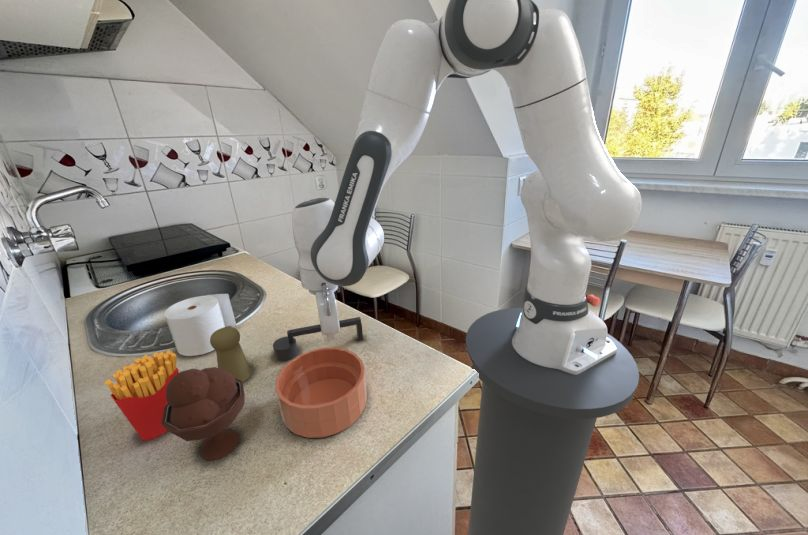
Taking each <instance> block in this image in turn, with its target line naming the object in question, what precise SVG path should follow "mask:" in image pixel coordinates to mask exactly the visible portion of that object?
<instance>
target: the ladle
mask: <svg viewBox="0 0 808 535" xmlns="http://www.w3.org/2000/svg"><path fill="white" fill-rule="evenodd" d="M339 324H340V329H341V328H347V327H352V326H353V327H354V326H356V337H357V340H358V341H363V340H364V333H363V332H364V330H363V323H362V318H361V316H357V317H352V318H346V319H341V320H340V319H339ZM286 332H287V333H286V334H287V336H283V337H282V336H281V337H280V338H277V339H276V340H275V341H274V342H273V343H272V350H273V353H274V359H276V361H280V362H285V361H291V360H293V359H294V358H296V357H297V356H298V354H299V349H298V348H299V347H298V344H297V339H296V338H295V337H300V336H301V337H302V336H306V335H310V334H316V333H322V332H321V326H320V323H318V324H313V325H308V326H303V327H298V328H292V329H288V330H287V331H286Z"/></svg>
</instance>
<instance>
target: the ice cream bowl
mask: <svg viewBox="0 0 808 535" xmlns="http://www.w3.org/2000/svg"><path fill="white" fill-rule="evenodd" d="M244 386H245V385H244V382H243V381H242V380H239V379H237V378H234V376H233V374H231V373H230V372H228V371H226V370H223V369H221V368H218V366H217V367H215V366H213V367H205V368H203V369H198V368H190V369H186V370H185V369H184V370H182V371H179V373H178V374H177V375H175V376H174V377H172V379H171V380H170V382H169V383H168V385H167V387H166V399H167V402H168V404H167V405H166V406H165V407H164V411H163V417H162V422H161V424H162V425H163V427H164V428H165V429H166V430H167V431H166V432H169V433H171V434H173V435H174V436H176V437H178V438H180V439H182V440H184V441H185V442H192V441H199V440H205V439H206V440H205V441H204V442H203V444H202V446H201V458H202V459H205V460H207V461H208V462H211V461H217V460H218V461H219V460H222V459H223V458H225V457H227V456H228V455H229V454H231V453H232V452H234V451H235V449H236V447H237V446H238V444H239V442H240V437H239V433H238V432H237V431H235V430H233V429H232V428H229V427H231V425H232V424H234V423H233V422H234V421H235V420H236V419H237V417H238V416H239V414H240V413H241V411H242V410H243V409H244V406H245V402H246V395H245V394H246V393H245V387H244Z"/></svg>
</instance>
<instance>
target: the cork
mask: <svg viewBox="0 0 808 535" xmlns="http://www.w3.org/2000/svg"><path fill="white" fill-rule="evenodd" d="M240 341H241V334H240V332H239V330H238V329H237V328H236V327H235V326H229V327H224V328H221V329H218V330H216V331H215V332H214V333H213V334H212V335H211V337H210V343H211V346H212V347H213V348H214V350H215V354H216V363H217V368H221V369H223V370H226V371H228V372H230V373H231V374H233V376H234V378H237V379H239V380H242V381H243V383H244V382H245V381H247V380H248V379H249V378H250V377H251V375H252V373H253V372H252V371H253V370H252V368H251V366H250V364H249V361H248V359H247V357H246V355H245V353H244V350H243V348H242V346H241V344H240Z"/></svg>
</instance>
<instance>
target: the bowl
mask: <svg viewBox="0 0 808 535" xmlns="http://www.w3.org/2000/svg"><path fill="white" fill-rule="evenodd" d="M365 369H366V368H365V365H364V362H363V360H362V359H361V358H360V356H359V355H358V354H357V353H355V352H353V351H351V350H349V349H347V348H342V347H335V346H334V347H321V348H315V349H312V350H309V351H306V352H303V353H300V354H299V355H296V356H295V357H294V358H292V359H290V360H288V362H287V363H286V364H285V365H284V366H283V367H282V368H281V370H280V371H279V372H278V375H277V376H276V379H275V382H274V383H275V384H274V392H275V395H276V396H275V397H276V399H277V404H278V408H279V412H280V418H281V419H282V422H283V425H284V426H285V428H286V429H288V430H289V431H290V432H292V433H293V434H294V435H296V436H300V437H303V438H310V439H311V438H326V437H329V436H332V435H336V434H339V433H340V432H342V431H344V430H345V429H347V428H349V427H350V426H352V425H353V424H354V423H355V422H356V421H357V419H359V418H360V417H361V416H362V413H363V411H364V410H365V408H366V406H367V399H368V388H367V378H366V370H365Z"/></svg>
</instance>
